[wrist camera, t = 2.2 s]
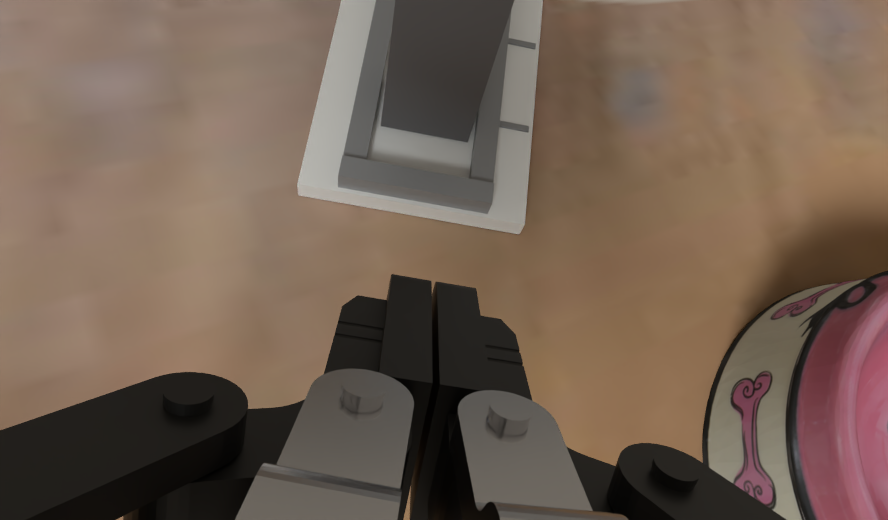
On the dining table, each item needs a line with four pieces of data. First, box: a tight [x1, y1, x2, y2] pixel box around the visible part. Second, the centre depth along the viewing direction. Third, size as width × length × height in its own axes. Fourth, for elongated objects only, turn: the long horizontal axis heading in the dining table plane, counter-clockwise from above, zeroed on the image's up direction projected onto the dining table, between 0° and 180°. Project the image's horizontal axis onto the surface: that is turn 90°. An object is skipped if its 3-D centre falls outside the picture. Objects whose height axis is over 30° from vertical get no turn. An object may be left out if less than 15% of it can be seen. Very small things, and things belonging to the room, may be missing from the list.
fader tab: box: [381, 0, 514, 142], centre depth 27 cm, size 3×4×11 cm
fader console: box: [297, 0, 543, 234], centre depth 35 cm, size 22×10×2 cm, turn 173°
